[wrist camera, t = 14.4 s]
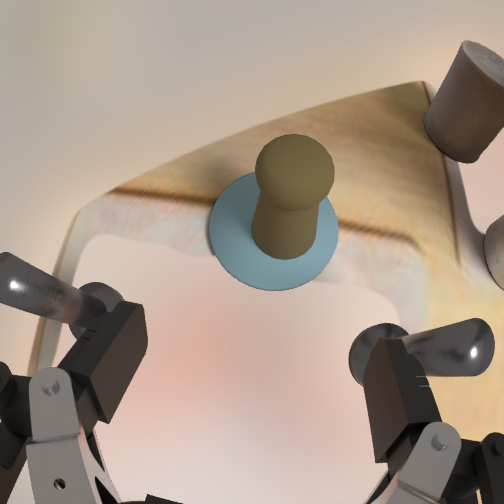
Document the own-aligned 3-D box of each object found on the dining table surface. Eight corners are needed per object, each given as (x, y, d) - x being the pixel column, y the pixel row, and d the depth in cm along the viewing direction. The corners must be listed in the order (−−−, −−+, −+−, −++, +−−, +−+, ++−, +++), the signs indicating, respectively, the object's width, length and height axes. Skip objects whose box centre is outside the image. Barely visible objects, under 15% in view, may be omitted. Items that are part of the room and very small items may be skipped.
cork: (243, 208, 29) (236, 131, 19) (303, 193, 30) (322, 114, 20) (262, 268, 28) (265, 210, 17) (326, 249, 28) (362, 186, 18)
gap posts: (410, 327, 26) (510, 293, 13) (404, 390, 24) (507, 399, 11) (82, 281, 28) (-11, 224, 15) (70, 339, 26) (-34, 313, 13)
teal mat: (337, 183, 31) (339, 179, 31) (332, 298, 27) (334, 296, 27) (222, 169, 32) (222, 164, 31) (199, 280, 28) (197, 278, 27)
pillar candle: (488, 168, 33) (546, 99, 18) (435, 159, 33) (493, 73, 18) (464, 116, 36) (506, 46, 22) (413, 105, 36) (451, 22, 22)
